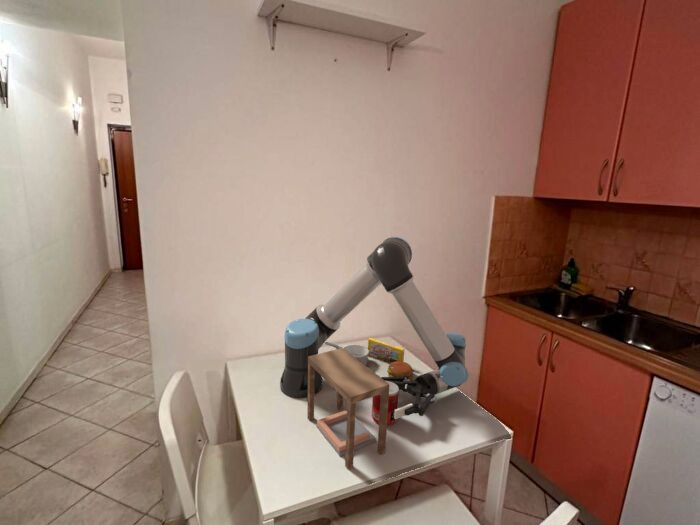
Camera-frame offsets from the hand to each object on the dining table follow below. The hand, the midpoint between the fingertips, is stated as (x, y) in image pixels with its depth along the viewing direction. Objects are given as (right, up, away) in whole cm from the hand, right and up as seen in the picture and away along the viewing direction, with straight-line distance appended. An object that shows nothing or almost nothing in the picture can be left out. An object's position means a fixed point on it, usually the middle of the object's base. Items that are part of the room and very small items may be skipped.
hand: (380, 402), depth 112 cm
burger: (+10, -1, +28) cm, 30 cm away
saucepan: (-11, +2, +39) cm, 40 cm away
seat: (-11, -7, -5) cm, 14 cm away
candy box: (+5, +2, +39) cm, 39 cm away
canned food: (+1, -6, +3) cm, 7 cm away
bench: (-11, -7, -5) cm, 14 cm away
